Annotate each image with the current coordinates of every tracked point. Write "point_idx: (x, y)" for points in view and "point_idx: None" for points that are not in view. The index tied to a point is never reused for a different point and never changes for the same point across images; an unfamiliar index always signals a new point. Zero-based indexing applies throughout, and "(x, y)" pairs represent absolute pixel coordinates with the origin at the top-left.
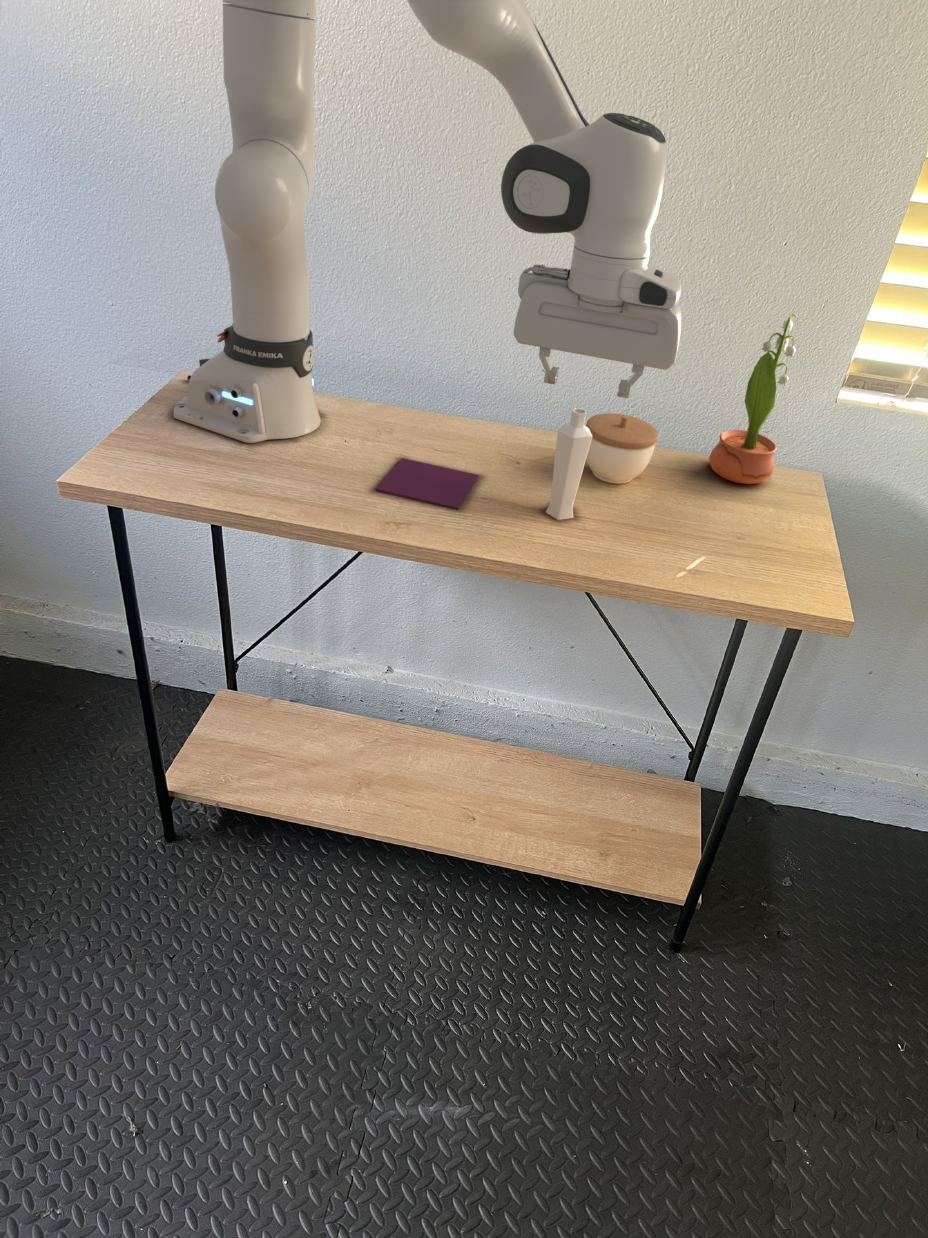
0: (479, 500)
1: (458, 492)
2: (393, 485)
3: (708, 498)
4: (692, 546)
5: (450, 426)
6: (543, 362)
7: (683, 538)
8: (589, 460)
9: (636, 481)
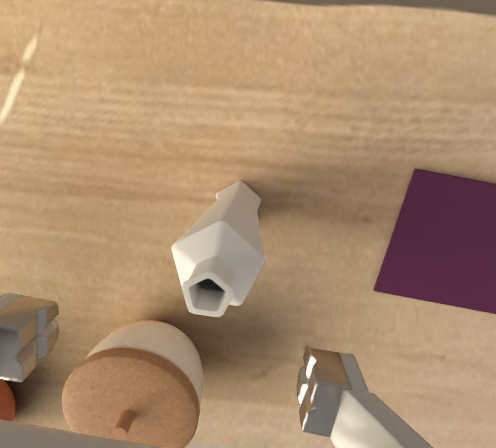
0: (374, 211)
1: (412, 223)
2: None
3: None
4: (21, 152)
5: None
6: (397, 421)
7: (37, 175)
8: (193, 346)
9: None
